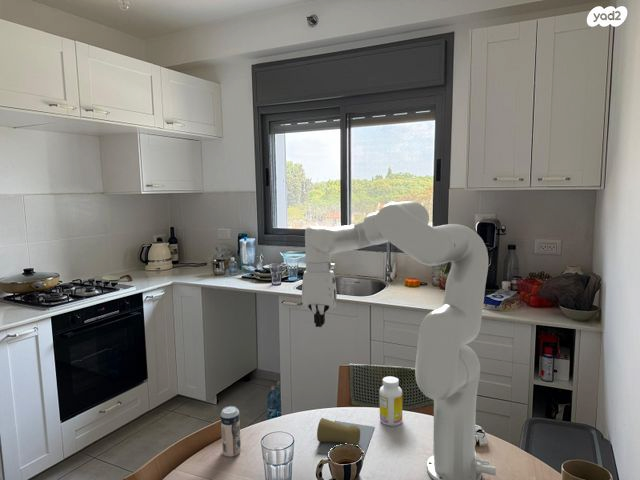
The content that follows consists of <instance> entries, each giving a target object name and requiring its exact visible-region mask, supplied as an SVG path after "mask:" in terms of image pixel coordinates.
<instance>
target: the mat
mask: <svg viewBox="0 0 640 480" xmlns="http://www.w3.org/2000/svg"><path fill="white" fill-rule="evenodd" d="M333 422H336V423H339V424H342V425H345V426H348V427H349V426H351V425H355V426H357V427H359V429H360V441H359V444H358V446H359V447H360V448H361V449H362V450H363V451H364V457H365V455H366V452H367V450H368V447H369V444H370V441H371V439H372V436H373V433H374V430H375V427H376V426H372V425H366V424H365V425H364V424H358V423H352V422H345V421H341V420H340V421H339V420H333ZM321 443H322V444H321V446H320V448H319V449H318V451H317V454H319V453H321V454H322V455H327V454H328V452H329V451H330V449H331V448H333V447H334V446H336V445H340V444H345V443H339V442H321ZM327 456H328V455H327Z"/></svg>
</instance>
